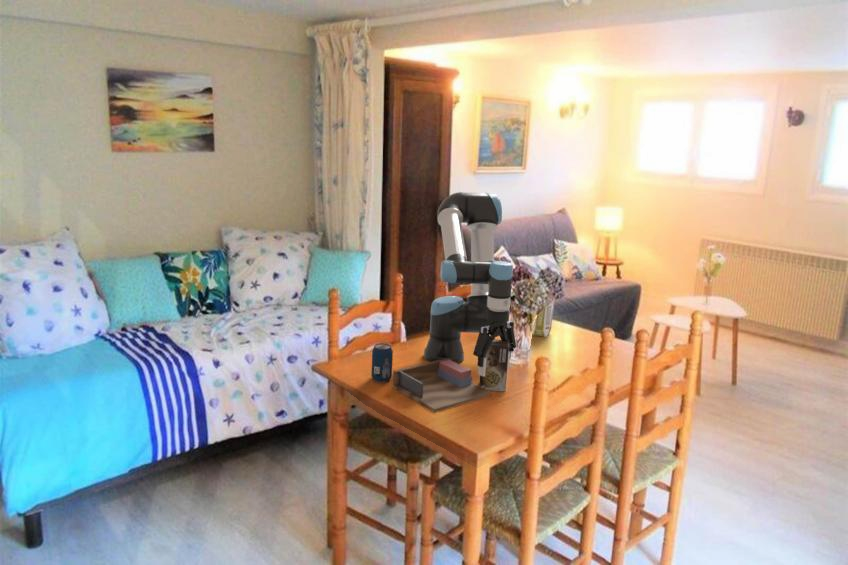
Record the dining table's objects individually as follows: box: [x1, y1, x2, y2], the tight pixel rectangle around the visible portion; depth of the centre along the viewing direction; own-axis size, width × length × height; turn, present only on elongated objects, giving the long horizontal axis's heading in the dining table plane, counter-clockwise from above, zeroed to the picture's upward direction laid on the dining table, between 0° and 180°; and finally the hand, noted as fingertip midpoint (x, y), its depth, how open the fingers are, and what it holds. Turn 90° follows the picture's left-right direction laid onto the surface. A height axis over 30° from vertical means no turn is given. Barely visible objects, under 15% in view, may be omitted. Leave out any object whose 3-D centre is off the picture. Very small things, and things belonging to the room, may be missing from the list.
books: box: [437, 360, 473, 387], centre depth 216 cm, size 12×5×5 cm, turn 38°
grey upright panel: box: [398, 371, 423, 398], centre depth 204 cm, size 12×1×5 cm, turn 38°
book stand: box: [392, 358, 492, 413], centre depth 208 cm, size 22×24×6 cm
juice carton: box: [532, 299, 555, 338], centre depth 272 cm, size 8×9×19 cm
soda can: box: [371, 342, 394, 383], centre depth 215 cm, size 7×7×12 cm
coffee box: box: [478, 338, 509, 392], centre depth 213 cm, size 9×6×16 cm
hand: (493, 371), depth 213 cm, fingers closed on coffee box, 10 cm apart
